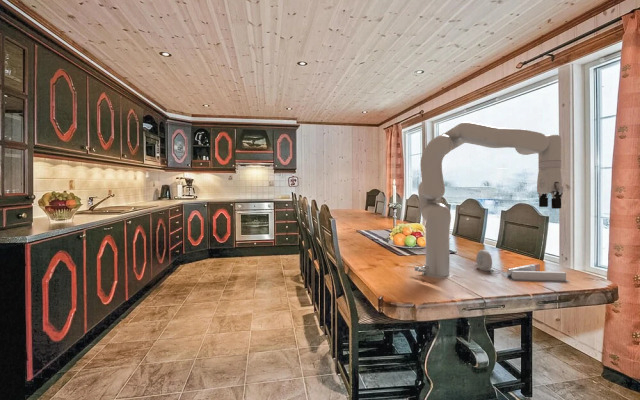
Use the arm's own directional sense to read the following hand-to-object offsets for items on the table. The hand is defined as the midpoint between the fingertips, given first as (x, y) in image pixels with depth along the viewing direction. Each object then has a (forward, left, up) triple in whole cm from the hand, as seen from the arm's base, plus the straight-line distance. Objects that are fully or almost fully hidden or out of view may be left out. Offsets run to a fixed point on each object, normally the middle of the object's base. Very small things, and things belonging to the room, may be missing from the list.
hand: (549, 207), depth 129 cm
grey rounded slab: (-23, +8, -30) cm, 38 cm away
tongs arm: (-9, +1, -28) cm, 29 cm away
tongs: (-8, -3, -29) cm, 30 cm away
